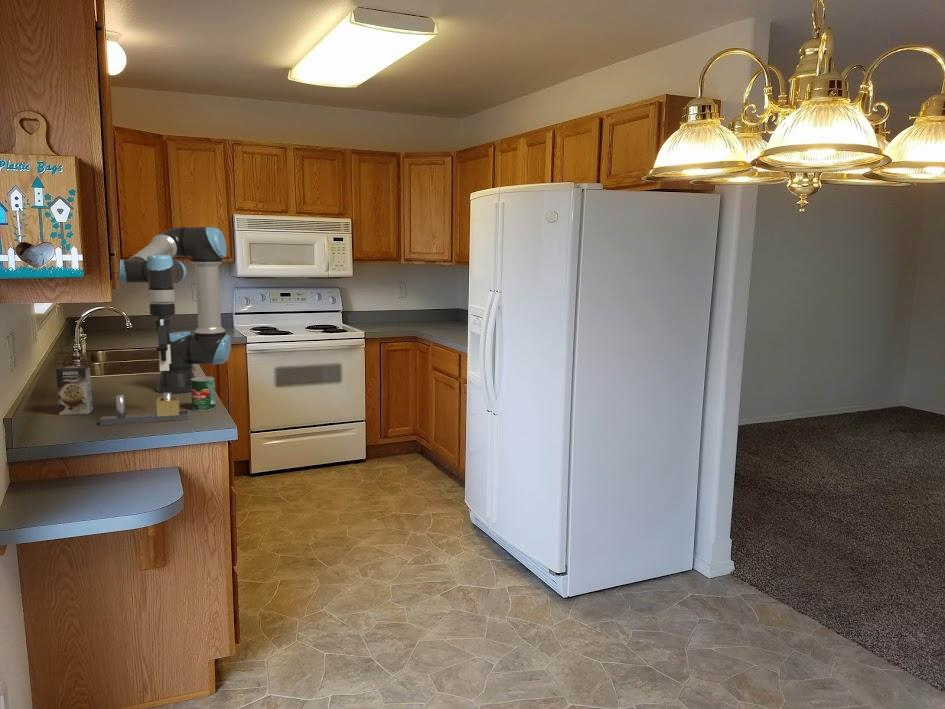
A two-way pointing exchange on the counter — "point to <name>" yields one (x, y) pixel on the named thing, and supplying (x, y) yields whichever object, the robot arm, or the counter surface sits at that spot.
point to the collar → (168, 406)
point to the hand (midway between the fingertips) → (165, 367)
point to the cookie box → (74, 390)
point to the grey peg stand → (139, 418)
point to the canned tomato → (203, 393)
